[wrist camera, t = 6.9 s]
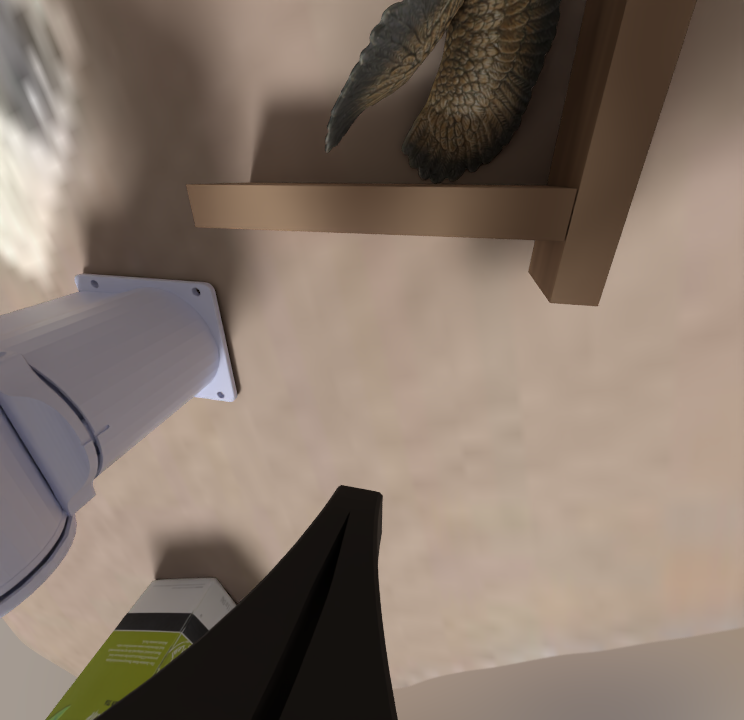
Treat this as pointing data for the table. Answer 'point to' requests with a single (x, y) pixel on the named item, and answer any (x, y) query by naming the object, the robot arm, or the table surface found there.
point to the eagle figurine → (453, 77)
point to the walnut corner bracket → (515, 202)
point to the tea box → (145, 643)
